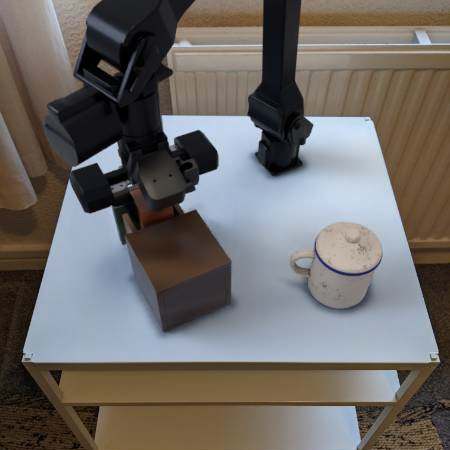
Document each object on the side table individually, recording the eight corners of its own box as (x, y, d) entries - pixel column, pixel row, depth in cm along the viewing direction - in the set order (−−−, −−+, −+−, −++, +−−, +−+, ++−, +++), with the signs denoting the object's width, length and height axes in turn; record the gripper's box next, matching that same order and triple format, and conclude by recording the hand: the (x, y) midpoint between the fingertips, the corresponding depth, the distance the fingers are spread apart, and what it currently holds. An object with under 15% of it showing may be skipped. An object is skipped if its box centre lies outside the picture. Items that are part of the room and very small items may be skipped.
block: (161, 204, 74) (158, 181, 71) (174, 225, 72) (172, 202, 68) (133, 215, 73) (128, 191, 69) (145, 236, 71) (141, 213, 67)
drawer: (108, 219, 80) (99, 182, 74) (162, 200, 83) (157, 163, 76) (143, 283, 73) (135, 249, 67) (201, 260, 76) (199, 225, 69)
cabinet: (134, 278, 75) (124, 235, 67) (198, 253, 78) (195, 208, 70) (163, 332, 70) (155, 292, 62) (230, 303, 72) (231, 261, 65)
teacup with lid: (364, 263, 77) (385, 209, 67) (370, 313, 72) (393, 262, 62) (286, 258, 77) (295, 204, 68) (286, 308, 72) (296, 256, 62)
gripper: (84, 190, 52) (111, 279, 65) (240, 137, 57) (237, 230, 70) (52, 130, 58) (83, 223, 71) (197, 87, 63) (201, 181, 76)
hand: (152, 215), depth 72 cm, fingers closed on block, 4 cm apart
